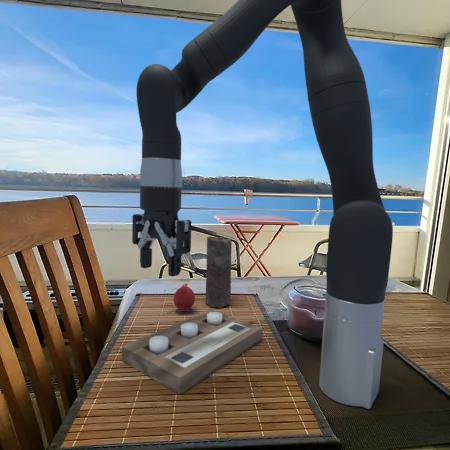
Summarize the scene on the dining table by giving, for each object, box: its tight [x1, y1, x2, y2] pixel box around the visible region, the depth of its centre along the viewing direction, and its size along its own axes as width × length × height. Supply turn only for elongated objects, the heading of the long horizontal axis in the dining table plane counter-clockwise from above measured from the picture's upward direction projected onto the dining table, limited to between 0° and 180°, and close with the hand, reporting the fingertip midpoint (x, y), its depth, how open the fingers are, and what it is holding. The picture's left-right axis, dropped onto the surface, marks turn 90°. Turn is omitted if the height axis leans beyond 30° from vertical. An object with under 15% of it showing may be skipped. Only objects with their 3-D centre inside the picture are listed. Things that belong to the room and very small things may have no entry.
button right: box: [207, 311, 223, 326], centre depth 77 cm, size 4×4×2 cm
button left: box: [149, 336, 168, 355], centre depth 64 cm, size 4×4×2 cm
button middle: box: [181, 323, 198, 339], centre depth 71 cm, size 4×4×2 cm
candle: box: [205, 236, 232, 309], centre depth 96 cm, size 8×7×20 cm
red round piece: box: [173, 282, 196, 313], centre depth 90 cm, size 6×6×8 cm
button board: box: [121, 309, 263, 395], centre depth 69 cm, size 16×26×3 cm, turn 142°
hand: (159, 271), depth 62 cm, fingers open, 7 cm apart
